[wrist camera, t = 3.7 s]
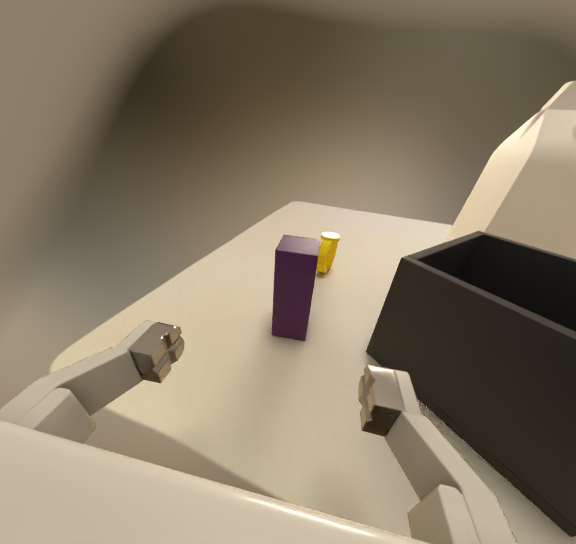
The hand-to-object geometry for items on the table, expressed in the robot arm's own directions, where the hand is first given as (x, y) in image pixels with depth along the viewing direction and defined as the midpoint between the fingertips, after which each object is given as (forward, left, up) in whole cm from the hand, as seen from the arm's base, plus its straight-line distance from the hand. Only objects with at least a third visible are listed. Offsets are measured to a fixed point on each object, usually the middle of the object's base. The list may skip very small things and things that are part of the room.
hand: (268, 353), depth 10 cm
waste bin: (+20, -5, -10) cm, 23 cm away
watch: (+20, +17, -10) cm, 28 cm away
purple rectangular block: (+8, +9, -10) cm, 16 cm away
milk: (+45, +3, -10) cm, 46 cm away
